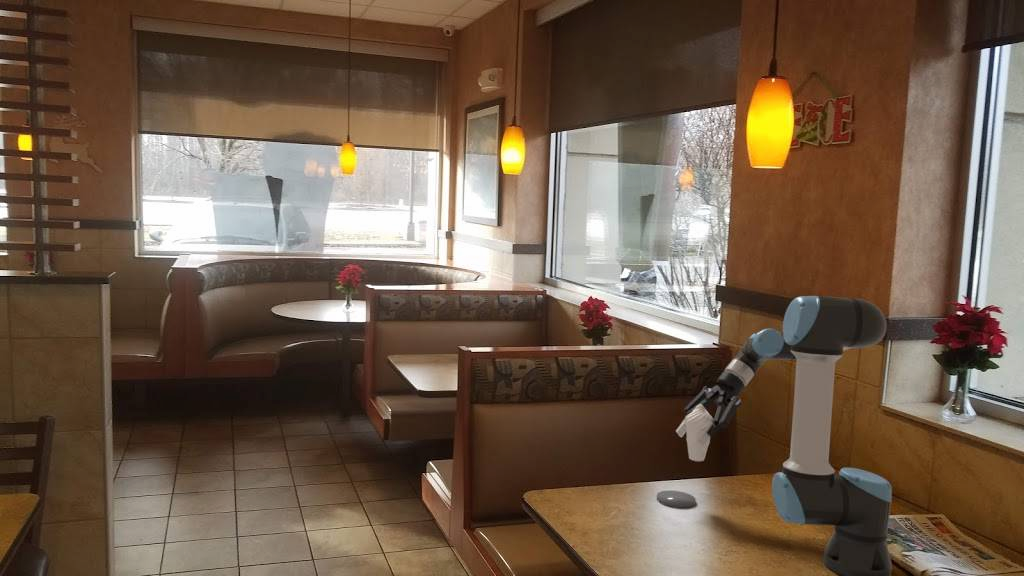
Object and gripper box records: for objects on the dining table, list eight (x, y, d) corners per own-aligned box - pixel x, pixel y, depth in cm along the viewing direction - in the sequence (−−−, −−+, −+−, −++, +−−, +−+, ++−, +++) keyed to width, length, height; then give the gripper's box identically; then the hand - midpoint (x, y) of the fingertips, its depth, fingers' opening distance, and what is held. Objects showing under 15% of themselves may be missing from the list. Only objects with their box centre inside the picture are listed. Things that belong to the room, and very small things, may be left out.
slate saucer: (689, 511, 225) (689, 507, 225) (651, 502, 231) (651, 498, 230) (700, 499, 235) (700, 496, 235) (663, 491, 240) (664, 487, 240)
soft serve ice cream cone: (711, 465, 227) (716, 409, 225) (681, 461, 229) (685, 406, 227) (711, 456, 235) (715, 402, 234) (682, 452, 237) (686, 399, 235)
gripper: (767, 395, 229) (721, 457, 223) (714, 379, 247) (670, 436, 240) (756, 378, 226) (709, 441, 219) (703, 363, 243) (658, 420, 237)
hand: (689, 438), depth 230 cm, fingers closed on soft serve ice cream cone, 8 cm apart
